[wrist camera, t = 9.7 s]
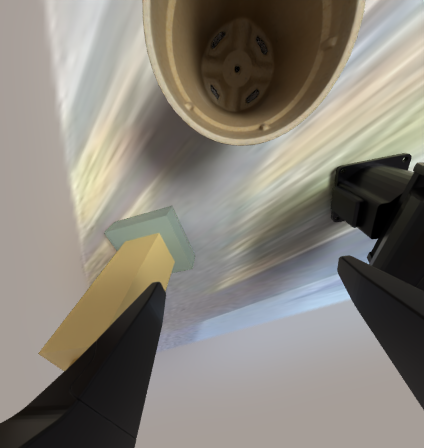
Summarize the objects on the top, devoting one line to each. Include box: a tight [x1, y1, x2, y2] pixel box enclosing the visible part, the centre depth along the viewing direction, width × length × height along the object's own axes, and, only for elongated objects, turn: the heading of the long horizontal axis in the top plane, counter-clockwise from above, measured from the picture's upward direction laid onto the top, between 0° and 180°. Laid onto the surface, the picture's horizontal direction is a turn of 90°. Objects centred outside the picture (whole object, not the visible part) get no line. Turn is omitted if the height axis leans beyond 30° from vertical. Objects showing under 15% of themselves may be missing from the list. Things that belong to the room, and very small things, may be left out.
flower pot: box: [142, 0, 366, 146], centre depth 12 cm, size 9×9×9 cm
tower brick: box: [38, 233, 175, 371], centre depth 17 cm, size 4×4×13 cm
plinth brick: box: [104, 206, 195, 273], centre depth 24 cm, size 8×8×2 cm
